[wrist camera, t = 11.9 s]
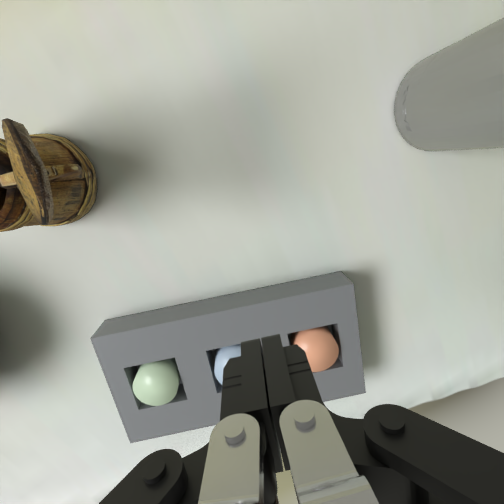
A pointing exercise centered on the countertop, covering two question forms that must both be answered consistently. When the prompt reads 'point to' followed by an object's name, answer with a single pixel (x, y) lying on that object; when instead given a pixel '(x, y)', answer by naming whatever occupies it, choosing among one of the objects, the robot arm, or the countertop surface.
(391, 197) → the countertop surface
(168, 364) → the sage button
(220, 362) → the slate button
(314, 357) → the terracotta button
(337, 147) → the countertop surface
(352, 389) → the button panel
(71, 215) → the wooden mug
